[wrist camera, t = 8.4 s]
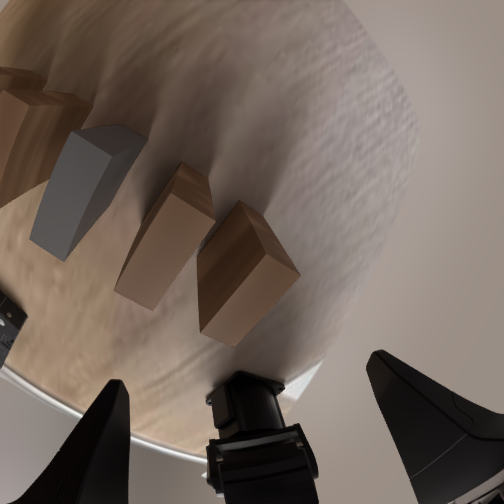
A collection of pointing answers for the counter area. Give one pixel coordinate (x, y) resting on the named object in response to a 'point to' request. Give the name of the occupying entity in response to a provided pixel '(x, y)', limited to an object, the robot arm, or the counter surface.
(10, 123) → the domino
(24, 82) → the domino
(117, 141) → the domino
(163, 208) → the domino
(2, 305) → the disk drive
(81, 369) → the counter surface
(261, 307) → the domino
